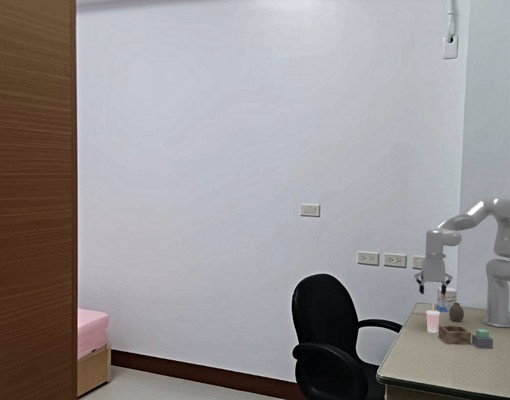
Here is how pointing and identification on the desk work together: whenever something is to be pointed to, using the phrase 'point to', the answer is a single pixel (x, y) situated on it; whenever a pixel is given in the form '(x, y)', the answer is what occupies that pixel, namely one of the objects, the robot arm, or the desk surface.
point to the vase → (456, 312)
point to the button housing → (482, 342)
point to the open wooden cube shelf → (454, 335)
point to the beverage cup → (432, 320)
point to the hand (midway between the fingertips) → (432, 294)
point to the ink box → (446, 299)
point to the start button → (482, 333)
